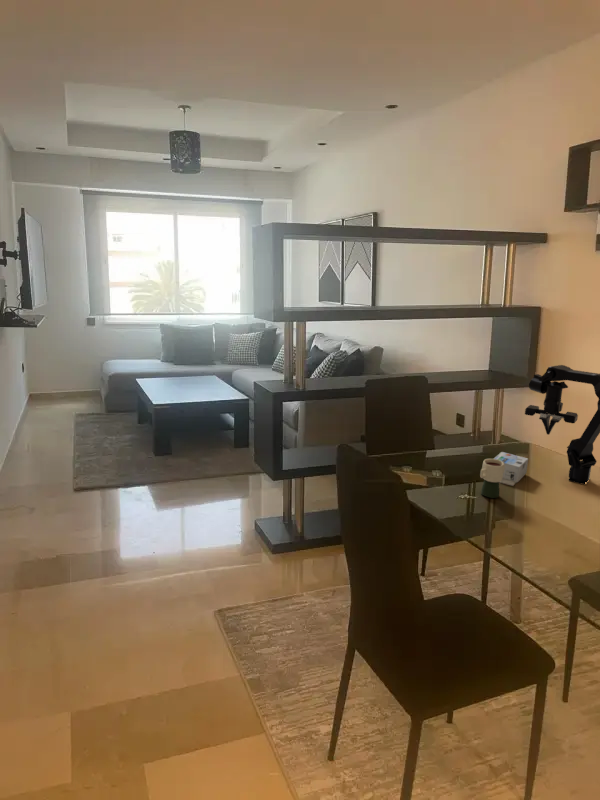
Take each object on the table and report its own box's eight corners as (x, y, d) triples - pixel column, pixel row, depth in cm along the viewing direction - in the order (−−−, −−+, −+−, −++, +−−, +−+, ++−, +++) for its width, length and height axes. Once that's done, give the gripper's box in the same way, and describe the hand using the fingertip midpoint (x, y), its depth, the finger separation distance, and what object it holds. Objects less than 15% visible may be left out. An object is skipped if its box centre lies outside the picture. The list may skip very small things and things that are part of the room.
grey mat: (525, 471, 236) (525, 470, 235) (513, 485, 223) (513, 484, 223) (495, 464, 242) (495, 463, 242) (481, 477, 230) (481, 476, 230)
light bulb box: (519, 466, 223) (491, 459, 229) (517, 483, 225) (489, 475, 231) (528, 458, 231) (501, 451, 237) (526, 473, 233) (499, 466, 239)
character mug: (494, 488, 221) (497, 456, 217) (508, 496, 215) (512, 463, 211) (471, 494, 216) (474, 461, 212) (485, 502, 210) (489, 468, 206)
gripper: (583, 396, 235) (577, 433, 240) (534, 388, 246) (529, 424, 250) (577, 403, 227) (571, 441, 231) (526, 394, 237) (522, 431, 242)
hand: (548, 434), depth 239 cm, fingers closed
